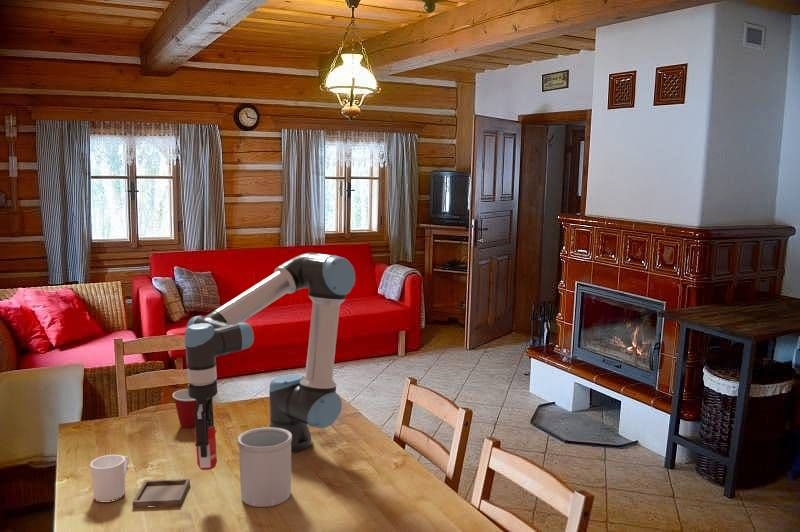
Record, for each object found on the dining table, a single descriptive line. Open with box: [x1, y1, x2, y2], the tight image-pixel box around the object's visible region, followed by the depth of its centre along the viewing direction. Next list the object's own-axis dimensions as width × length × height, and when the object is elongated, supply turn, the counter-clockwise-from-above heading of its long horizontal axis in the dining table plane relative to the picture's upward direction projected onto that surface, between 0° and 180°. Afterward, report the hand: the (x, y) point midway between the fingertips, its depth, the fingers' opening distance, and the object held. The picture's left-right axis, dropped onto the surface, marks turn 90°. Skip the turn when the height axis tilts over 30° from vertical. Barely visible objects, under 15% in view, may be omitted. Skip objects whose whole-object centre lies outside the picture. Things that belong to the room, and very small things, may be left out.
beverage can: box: [194, 422, 218, 471], centre depth 187 cm, size 5×5×12 cm
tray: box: [131, 478, 191, 508], centre depth 191 cm, size 13×13×2 cm
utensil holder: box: [237, 426, 292, 508], centre depth 191 cm, size 15×15×18 cm
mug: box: [89, 454, 130, 502], centre depth 191 cm, size 11×9×10 cm
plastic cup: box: [172, 388, 197, 429], centre depth 241 cm, size 11×11×12 cm
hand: (207, 461), depth 188 cm, fingers closed on beverage can, 5 cm apart
